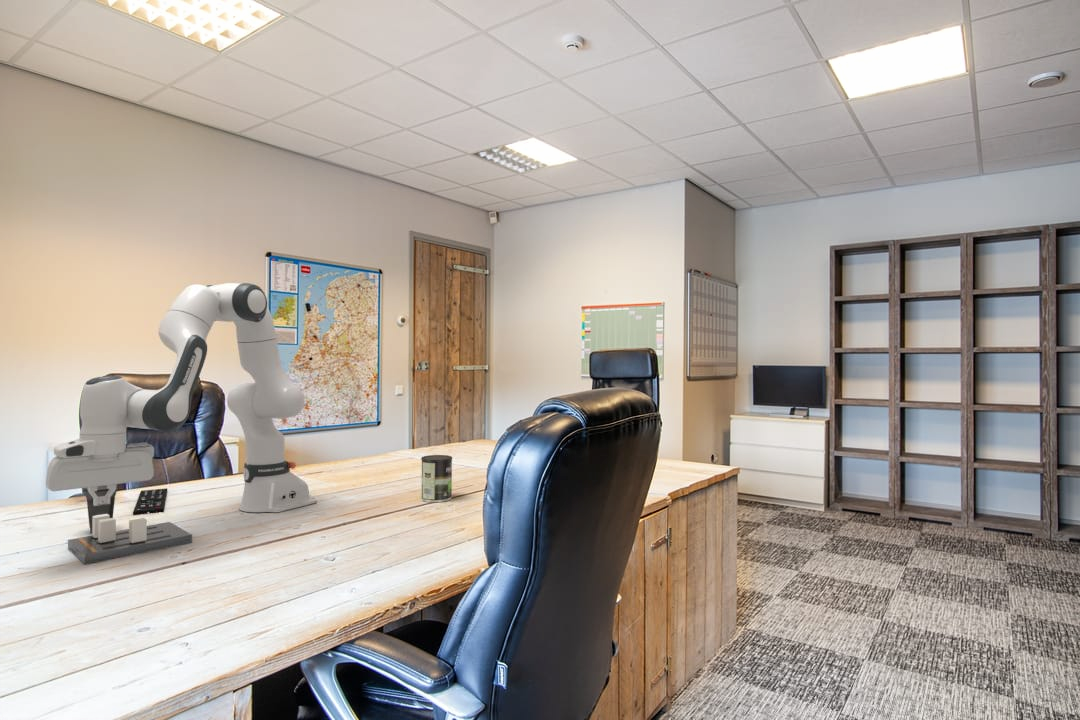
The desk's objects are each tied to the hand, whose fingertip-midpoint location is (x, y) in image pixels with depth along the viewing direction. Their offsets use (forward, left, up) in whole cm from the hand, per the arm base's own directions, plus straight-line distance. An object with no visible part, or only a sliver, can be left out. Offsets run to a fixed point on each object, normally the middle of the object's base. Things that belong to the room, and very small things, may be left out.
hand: (101, 504), depth 138 cm
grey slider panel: (-7, -6, -12) cm, 15 cm away
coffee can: (-90, +11, -13) cm, 92 cm away
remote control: (-24, -51, -13) cm, 58 cm away
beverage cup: (-5, -25, -13) cm, 29 cm away
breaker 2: (-2, -6, -10) cm, 12 cm away
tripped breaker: (-7, 0, -10) cm, 12 cm away
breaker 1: (-2, -11, -10) cm, 15 cm away
